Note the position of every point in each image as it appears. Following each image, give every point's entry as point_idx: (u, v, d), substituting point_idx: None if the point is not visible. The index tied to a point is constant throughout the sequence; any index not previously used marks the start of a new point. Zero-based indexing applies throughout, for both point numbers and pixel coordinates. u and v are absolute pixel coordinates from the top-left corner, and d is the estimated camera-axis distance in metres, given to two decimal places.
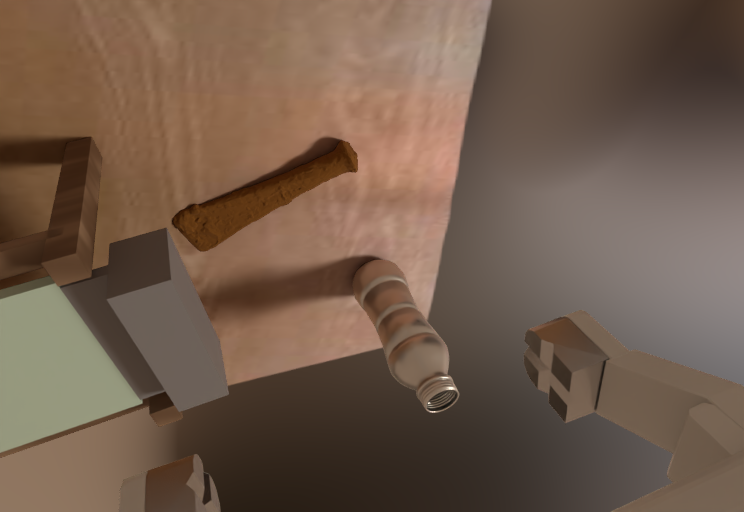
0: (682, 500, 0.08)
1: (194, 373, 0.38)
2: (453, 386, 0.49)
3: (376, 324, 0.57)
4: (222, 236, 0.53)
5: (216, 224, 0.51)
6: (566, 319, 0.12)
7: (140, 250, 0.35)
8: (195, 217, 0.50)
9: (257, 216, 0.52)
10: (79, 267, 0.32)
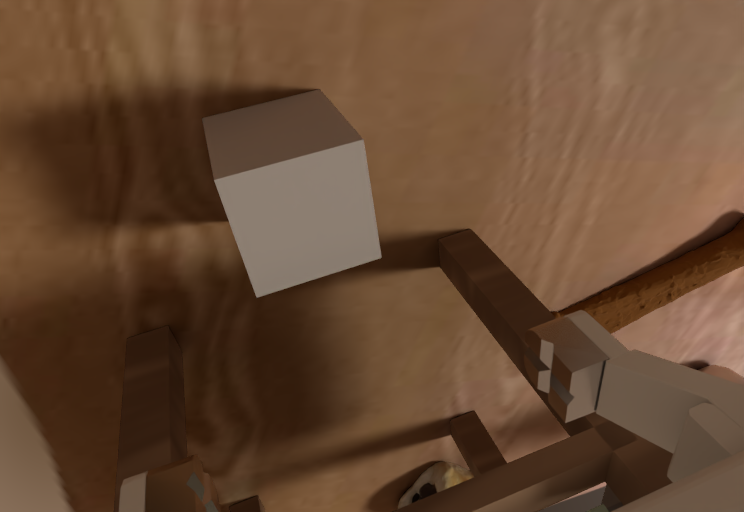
0: (682, 500, 0.08)
1: None
2: None
3: None
4: None
5: None
6: (567, 319, 0.12)
7: None
8: None
9: (625, 323, 0.37)
10: None
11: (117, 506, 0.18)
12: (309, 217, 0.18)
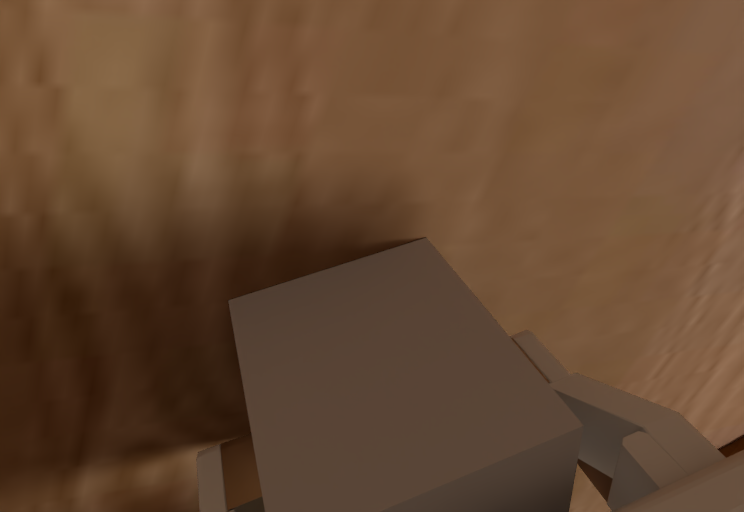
0: (682, 500, 0.08)
1: None
2: None
3: None
4: None
5: None
6: None
7: None
8: None
9: None
10: None
11: None
12: None
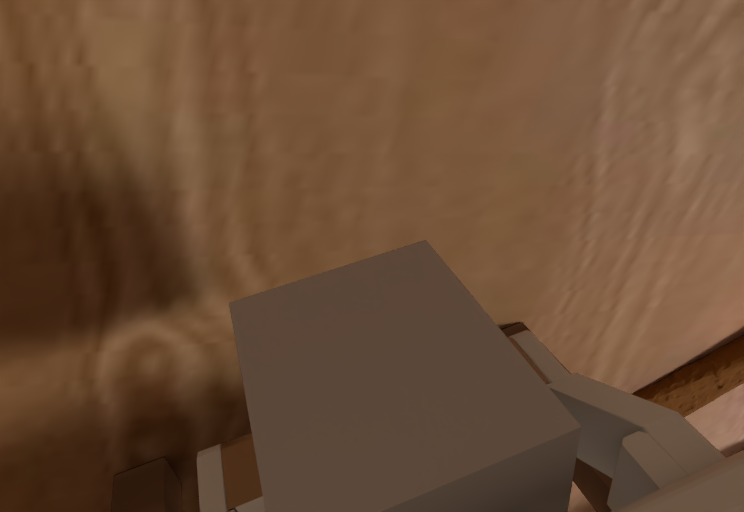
0: (682, 500, 0.08)
1: None
2: None
3: None
4: None
5: None
6: (511, 340, 0.12)
7: None
8: None
9: (701, 405, 0.32)
10: None
11: None
12: None
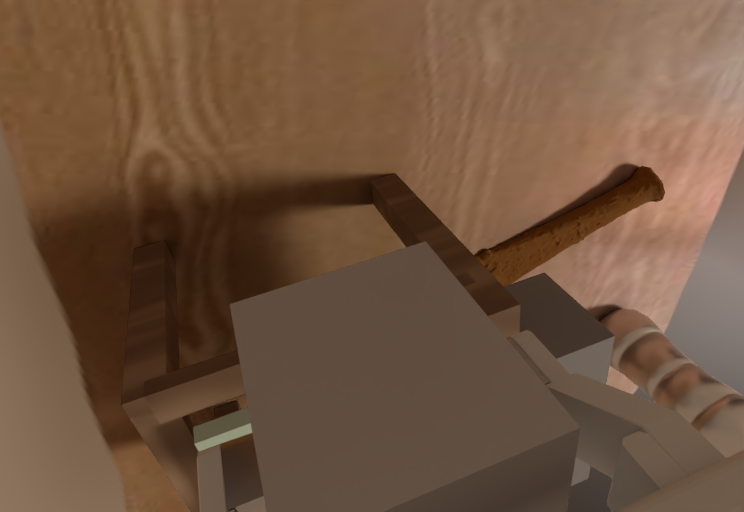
0: (682, 500, 0.08)
1: None
2: None
3: (651, 384, 0.49)
4: (505, 283, 0.47)
5: (504, 270, 0.46)
6: (511, 340, 0.12)
7: (535, 300, 0.29)
8: (485, 264, 0.45)
9: (546, 258, 0.46)
10: (514, 322, 0.25)
11: (129, 334, 0.27)
12: None
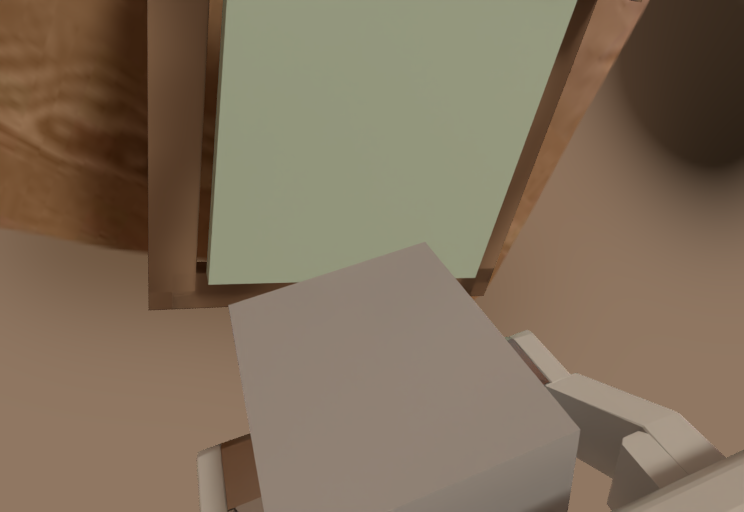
0: (682, 500, 0.08)
1: None
2: None
3: None
4: None
5: None
6: (511, 340, 0.12)
7: None
8: None
9: None
10: None
11: None
12: None
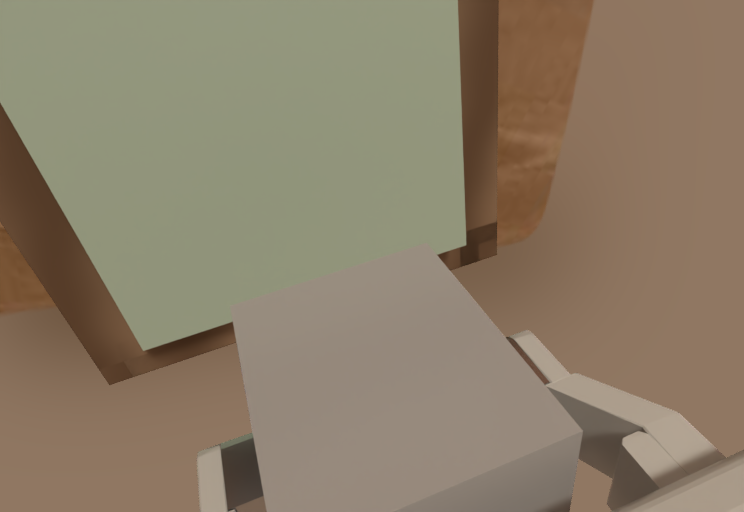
0: (682, 500, 0.08)
1: None
2: None
3: None
4: None
5: None
6: (511, 340, 0.12)
7: None
8: None
9: None
10: None
11: None
12: None
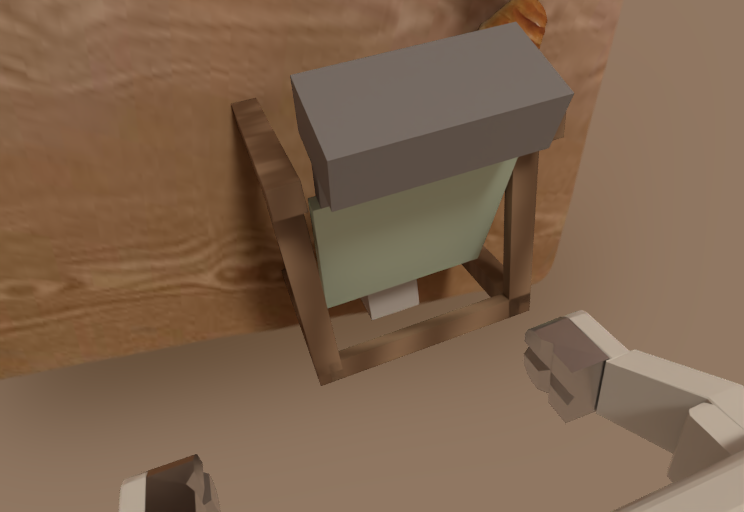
0: (682, 501, 0.08)
1: (500, 133, 0.26)
2: None
3: None
4: None
5: None
6: (566, 319, 0.12)
7: (304, 127, 0.27)
8: None
9: None
10: (285, 190, 0.28)
11: None
12: None
